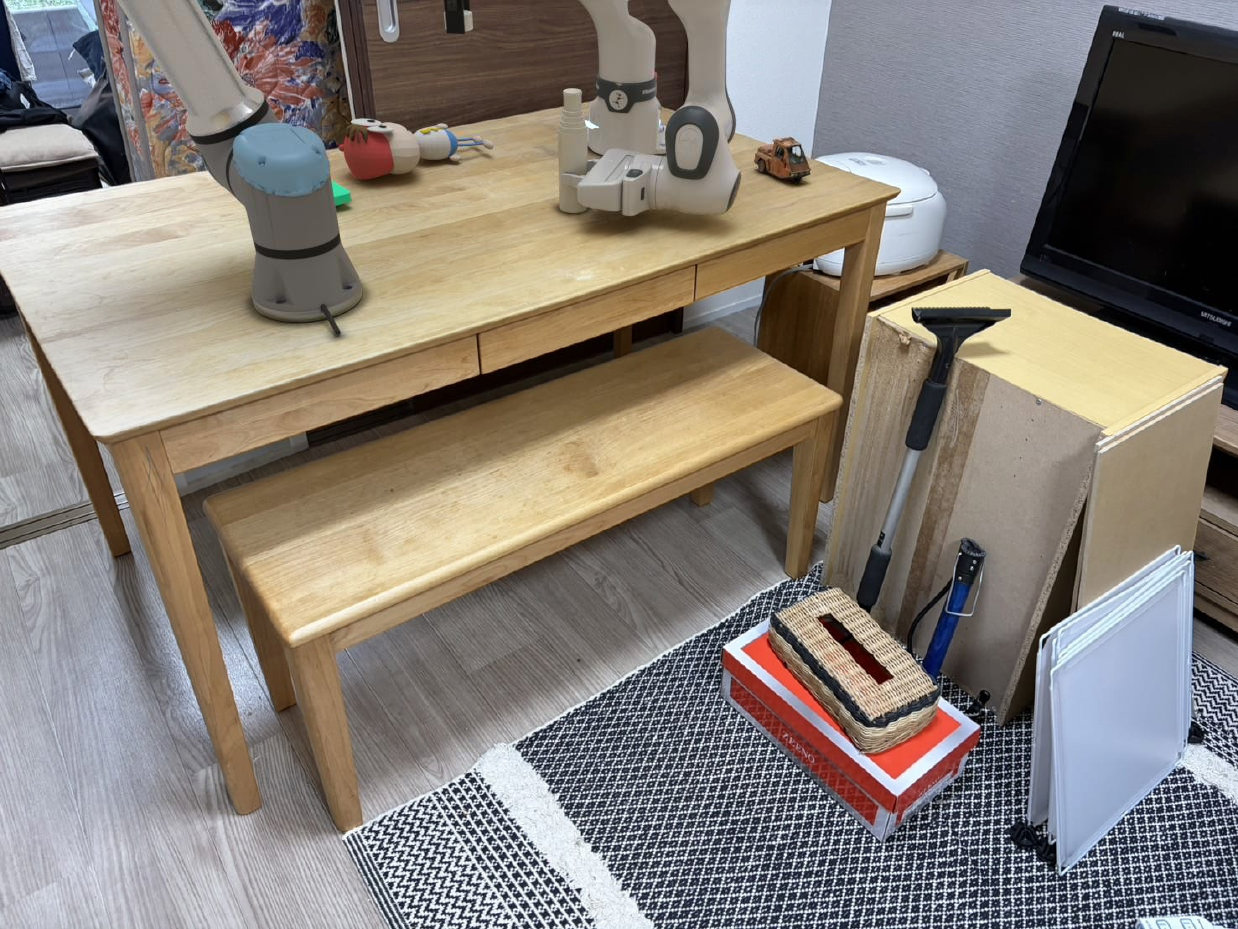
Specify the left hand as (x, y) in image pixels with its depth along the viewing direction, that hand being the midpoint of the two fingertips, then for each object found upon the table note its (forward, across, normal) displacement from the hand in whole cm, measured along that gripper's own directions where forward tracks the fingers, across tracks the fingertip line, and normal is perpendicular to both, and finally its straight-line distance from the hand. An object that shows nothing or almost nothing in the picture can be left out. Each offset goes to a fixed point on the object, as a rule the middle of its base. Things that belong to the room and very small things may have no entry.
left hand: (459, 29), depth 142 cm
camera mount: (+30, +4, +28) cm, 42 cm away
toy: (+30, +25, +15) cm, 42 cm away
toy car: (+30, +29, -56) cm, 70 cm away
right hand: (+24, +7, -16) cm, 30 cm away
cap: (-2, 0, 0) cm, 2 cm away
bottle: (+30, +7, -17) cm, 35 cm away
